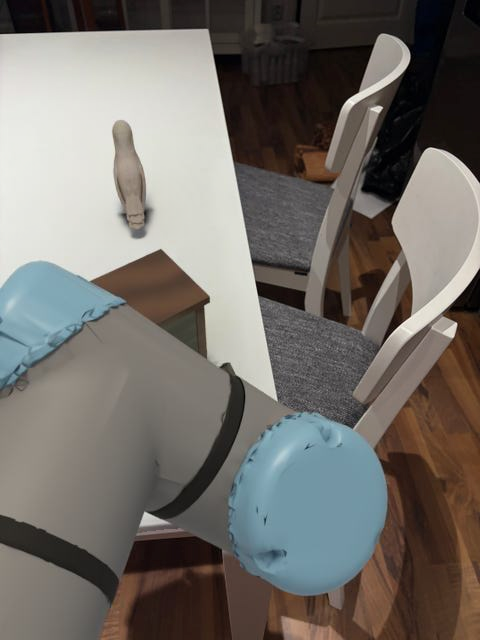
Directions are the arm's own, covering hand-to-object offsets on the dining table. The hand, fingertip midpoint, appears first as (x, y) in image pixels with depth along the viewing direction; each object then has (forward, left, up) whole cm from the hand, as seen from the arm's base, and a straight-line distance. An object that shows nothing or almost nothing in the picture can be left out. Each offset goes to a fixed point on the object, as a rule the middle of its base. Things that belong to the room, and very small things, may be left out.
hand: (124, 418), depth 55 cm
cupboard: (-7, +7, -7) cm, 12 cm away
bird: (-34, +29, -7) cm, 45 cm away
